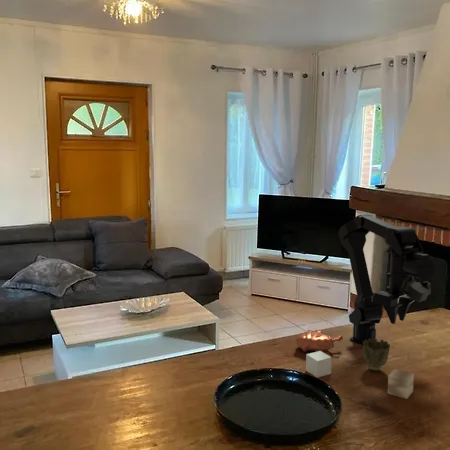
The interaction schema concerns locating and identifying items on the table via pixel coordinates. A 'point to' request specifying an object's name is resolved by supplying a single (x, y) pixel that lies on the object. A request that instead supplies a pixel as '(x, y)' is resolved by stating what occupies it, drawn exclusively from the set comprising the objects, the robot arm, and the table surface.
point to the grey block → (318, 364)
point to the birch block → (400, 383)
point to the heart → (316, 341)
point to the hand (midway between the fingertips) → (397, 322)
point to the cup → (375, 353)
